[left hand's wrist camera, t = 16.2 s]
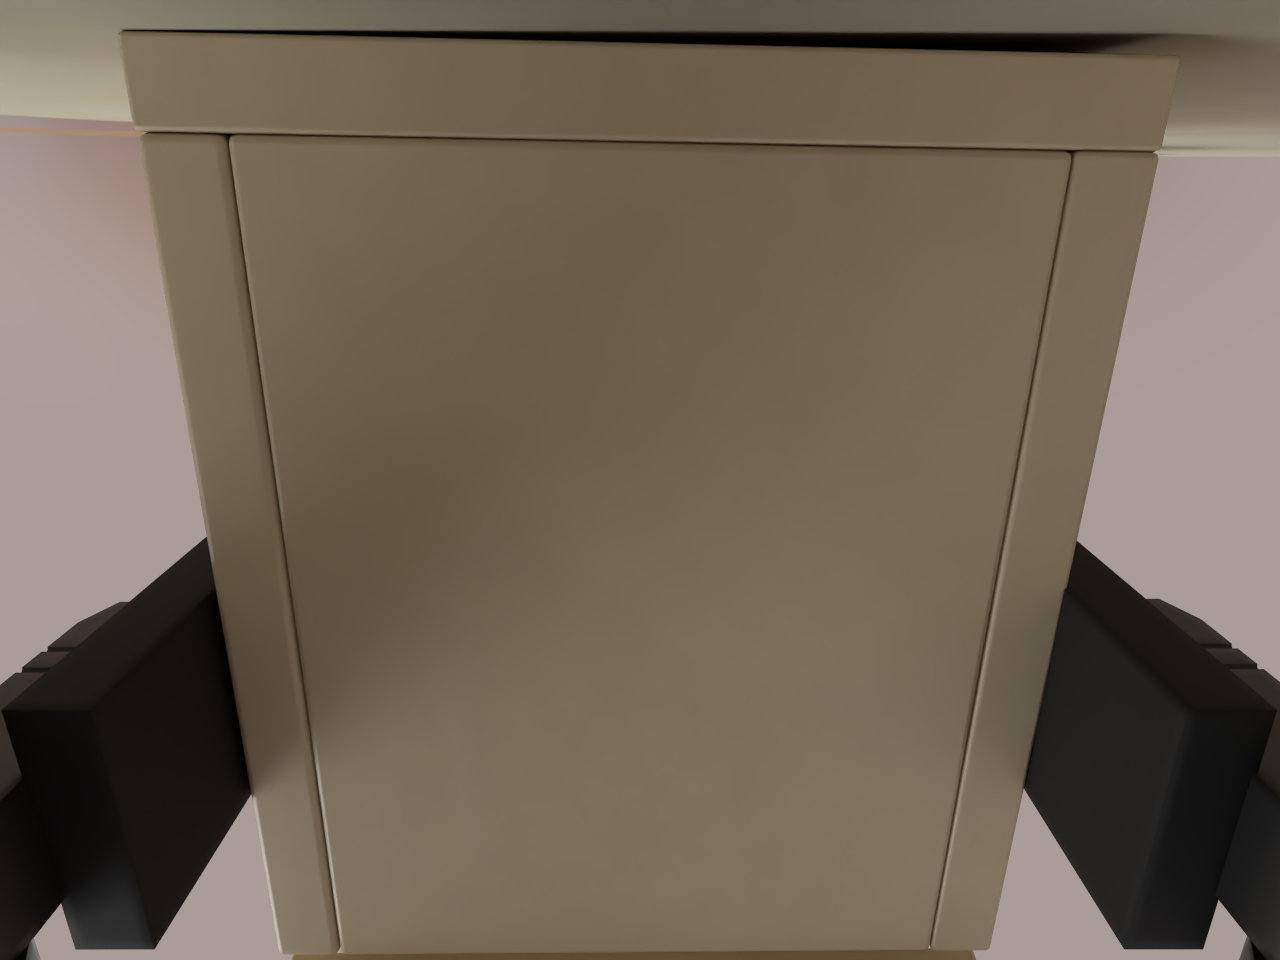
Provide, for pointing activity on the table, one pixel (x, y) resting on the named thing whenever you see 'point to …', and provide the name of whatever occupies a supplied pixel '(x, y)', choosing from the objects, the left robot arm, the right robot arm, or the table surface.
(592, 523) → the chest
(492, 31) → the table surface
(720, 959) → the lid
